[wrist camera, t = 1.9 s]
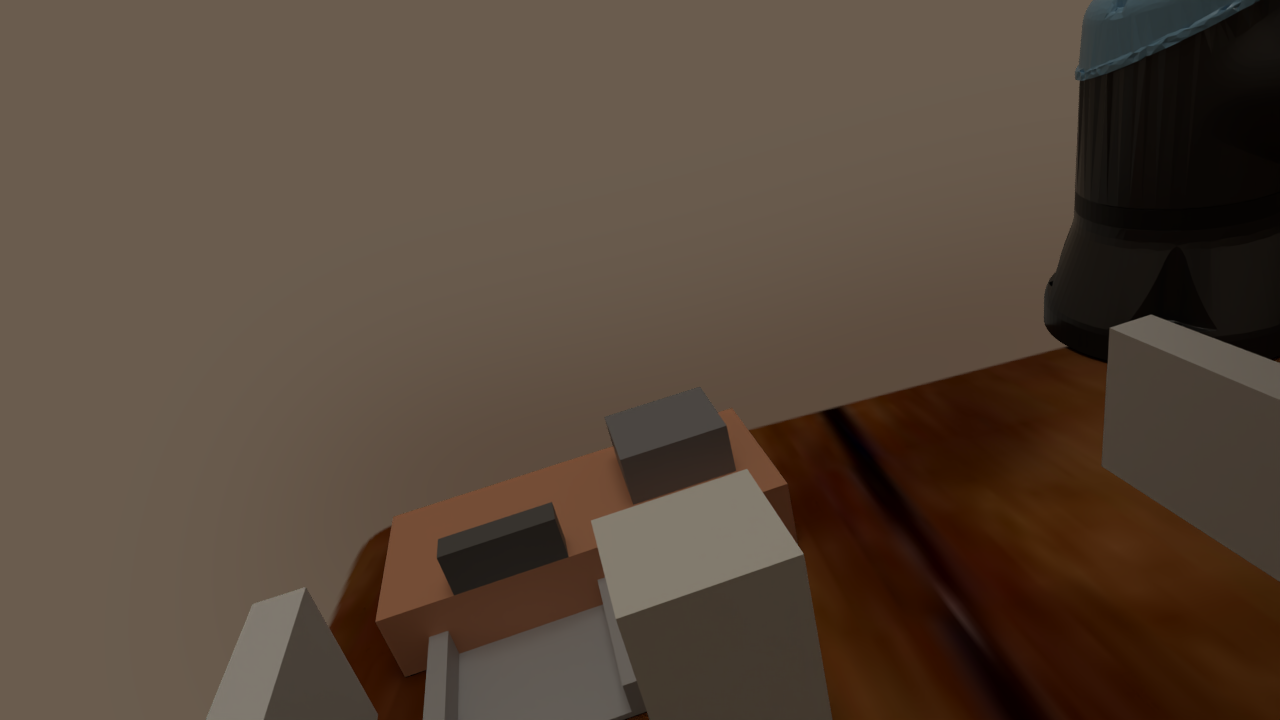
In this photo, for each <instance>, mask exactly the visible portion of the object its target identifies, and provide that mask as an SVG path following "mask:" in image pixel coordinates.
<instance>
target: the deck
mask: <svg viewBox="0 0 1280 720" xmlns="http://www.w3.org/2000/svg"><path fill="white" fill-rule="evenodd" d="M605 420H606V424H607V427H608V430H609V434H610V437H611V441H612V444H613V446H612V447H609V448H606V449H602V450H599V451H596V452H593V453H590V454H587V455H584V456H581V457H578V458H574V459H571V460H568V461H565V462H562V463H559V464H556V465H553V466H550V467H547V468H544V469H540V470H537V471H534V472H531V473H528V474H525V475H522V476H519V477H515V478H512V479H509V480H506V481H503V482H500V483H497V484H494V485H490V486H487V487H485V488H481V489H479V490H475V491H472V492H469V493H466V494H463V495H459V496H456V497H453V498H450V499H447V500H444V501H441V502H438V503H435V504H432V505H428V506H425V507H422V508H419V509H416V510H413V511H410V512H407V513H403V514H400V515H397V516H394V517H393V522H392V528H391V534H390V540H389V545H388V551H387V557H386V563H385V569H384V575H383V581H382V587H381V592H380V598H379V604H378V610H377V616H376V624H377V626H378V627H379V629H380V631H381V633H382V635H383V637H384V639H385V640H386V642H387V644H388V646H389V648H390V650H391V652H392V654H393V655H394V657H395V659H396V661H397V663H398V665H399V667H400V668H401V670H402V672H403V674H404V676H405V677H407V676H410V675H413V674H416V673H418V672H421V671H424V670H427V673H426V686H425V700H424V713H423V720H624V719H627V718H630V717H633V716H635V715H638V714H641V713H644V712H646V711H647V710H646V707H645V704H644V701H643V698H642V695H641V692H640V689H639V687H638V684H637V681H636V678H635V675H634V672H633V669H632V666H631V663H630V660H629V657H628V654H627V651H626V648H625V645H624V642H623V639H622V636H621V633H620V630H619V627H618V624H617V621H616V618H615V614H614V610H613V606H612V602H611V598H610V594H609V590H608V586H607V582H606V579H605V575H604V571H603V567H602V563H601V559H600V555H599V551H598V547H597V543H596V539H595V535H594V531H593V527H592V523H591V520H594V519H597V518H600V517H603V516H606V515H609V514H612V513H615V512H618V511H621V510H624V509H627V508H630V507H633V506H636V505H639V504H642V503H645V502H648V501H651V500H654V499H657V498H660V497H663V496H666V495H670V494H673V493H676V492H679V491H682V490H685V489H688V488H691V487H694V486H697V485H700V484H703V483H706V482H709V481H712V480H715V479H718V478H721V477H724V476H727V475H730V474H733V473H736V472H739V471H742V470H745V469H748V471H749V472H750V474H751V475H752V477H753V478H754V480H755V481H756V483H757V484H758V486H759V487H760V489H761V490H762V492H763V493H764V495H765V497H766V498H767V500H768V501H769V503H770V504H771V506H772V507H773V509H774V510H775V512H776V513H777V515H778V516H779V518H780V519H781V521H782V522H783V524H784V525H785V527H786V528H787V530H788V531H789V533H790V534H791V536H792V537H793V539H794V540H795V542H798V541H797V535H796V530H795V524H794V518H793V512H792V507H791V501H790V495H789V490H788V484H787V482H786V481H785V480H784V478H783V477H782V476H781V474H780V473H779V472H778V470H777V469H776V467H775V466H774V465H773V463H772V462H771V461H770V459H769V458H768V457H767V455H766V454H765V452H764V451H763V450H762V448H761V447H760V446H759V444H758V443H757V442H756V440H755V439H754V437H753V436H752V435H751V433H750V432H749V431H748V429H747V428H746V427H745V425H744V424H743V422H742V421H741V420H740V418H739V417H738V416H737V414H736V413H735V412H734V410H733V409H732V408H730V409H727V410H724V411H721V412H717V411H716V409H715V408H714V406H713V405H712V404H711V402H710V401H709V399H708V398H707V396H706V395H705V393H704V392H703V391H702V389H701V388H700V387H698V388H694V389H691V390H688V391H685V392H682V393H679V394H676V395H672V396H669V397H666V398H663V399H660V400H657V401H653V402H650V403H647V404H644V405H641V406H638V407H635V408H631V409H628V410H625V411H622V412H619V413H616V414H613V415H609V416H606V417H605Z"/></svg>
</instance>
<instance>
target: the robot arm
mask: <svg viewBox="0 0 1280 720" xmlns="http://www.w3.org/2000/svg"><path fill="white" fill-rule="evenodd" d="M1075 79H1076V80H1080V87H1079V110H1078V111H1079V112H1078V133H1077V157H1076V180H1075V181H1076V182H1075V208H1074V219H1073V223H1072V226H1071V228H1070V231H1069V234H1068V236H1067V239H1066V241H1065V244H1064V247H1063V250H1062V253H1061V257H1060V260H1059V264H1058V267H1057V271H1056V273H1054V275H1053V276H1052V277H1051V278H1050V280H1049V282H1048V284H1047V287H1046V290H1045V296H1044V322H1045V326H1046V327H1047V329H1048V331H1049V332H1050V333H1051V334H1052V335H1053V336H1054V337H1055V338H1056V339H1057V340H1059V341H1060V342H1062V343H1063V344H1065V345H1067V346H1069V347H1070V348H1072V349H1075V350H1077V351H1079V352H1082V353H1084V354H1087V355H1090V356H1093V357H1096V358H1100V359H1104V360H1107V361H1108V365H1107V382H1106V400H1105V417H1104V434H1103V452H1102V467H1104V468H1105V469H1107V470H1109V471H1110V472H1112V473H1113V474H1115V475H1116V476H1118V477H1119V478H1121V479H1122V480H1124V481H1126V482H1127V483H1129V484H1130V485H1132V486H1133V487H1135V488H1136V489H1138V490H1139V491H1141V492H1142V493H1144V494H1146V495H1147V496H1149V497H1150V498H1152V499H1153V500H1155V501H1156V502H1158V503H1159V504H1161V505H1162V506H1164V507H1166V508H1167V509H1169V510H1170V511H1172V512H1173V513H1175V514H1176V515H1178V516H1179V517H1181V518H1183V519H1184V520H1186V521H1187V522H1189V523H1190V524H1192V525H1193V526H1195V527H1196V528H1198V529H1199V530H1201V531H1203V532H1204V533H1206V534H1207V535H1209V536H1210V537H1212V538H1213V539H1215V540H1216V541H1218V542H1220V543H1221V544H1223V545H1224V546H1226V547H1227V548H1229V549H1230V550H1232V551H1233V552H1235V553H1236V554H1238V555H1240V556H1241V557H1243V558H1244V559H1246V560H1247V561H1249V562H1250V563H1252V564H1253V565H1255V566H1257V567H1258V568H1260V569H1261V570H1263V571H1264V572H1266V573H1267V574H1269V575H1270V576H1272V577H1273V578H1275V579H1277V580H1278V581H1280V363H1278V362H1275V361H1273V360H1270V359H1271V358H1274V357H1277V356H1280V0H1093V1H1092V2H1091V4H1090V5H1089V7H1088V8H1087V10H1086V13H1085V15H1084V19H1083V25H1082V37H1081V48H1080V59H1079V65H1078V67H1077V68H1076V71H1075ZM377 717H378V714H377V712H376V710H375V709H374V707H373V705H372V703H371V702H370V700H369V698H368V696H367V694H366V693H365V691H364V689H363V687H362V686H361V684H360V682H359V680H358V679H357V677H356V675H355V673H354V671H353V670H352V668H351V666H350V664H349V663H348V661H347V659H346V657H345V656H344V654H343V652H342V650H341V648H340V647H339V645H338V643H337V641H336V640H335V638H334V636H333V634H332V633H331V631H330V629H329V627H328V625H327V624H326V622H325V620H324V618H323V617H322V615H321V613H320V611H319V610H318V608H317V606H316V604H315V602H314V601H313V599H312V597H311V595H310V594H309V592H308V590H307V588H306V587H304V588H301V589H298V590H295V591H292V592H289V593H286V594H282V595H279V596H276V597H273V598H270V599H267V600H264V601H261V602H258V603H255V604H253V605H252V607H251V610H250V612H249V614H248V617H247V619H246V622H245V624H244V627H243V629H242V632H241V634H240V637H239V639H238V642H237V644H236V646H235V649H234V651H233V654H232V656H231V659H230V661H229V664H228V666H227V669H226V671H225V674H224V676H223V679H222V681H221V683H220V686H219V688H218V691H217V694H216V696H215V698H214V701H213V703H212V706H211V708H210V710H209V713H208V715H207V718H206V720H377Z"/></svg>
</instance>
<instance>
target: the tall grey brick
mask: <svg viewBox="0 0 1280 720" xmlns="http://www.w3.org/2000/svg"><path fill="white" fill-rule="evenodd" d="M591 523H592V527H593V531H594V535H595V539H596V543H597V547H598V551H599V555H600V559H601V563H602V567H603V571H604V575H605V579H606V582H607V586H608V590H609V594H610V598H611V602H612V606H613V610H614V614H615V618H616V621H617V624H618V627H619V630H620V633H621V636H622V639H623V642H624V645H625V648H626V651H627V654H628V657H629V660H630V663H631V666H632V669H633V672H634V675H635V678H636V681H637V684H638V687H639V689H640V692H641V695H642V698H643V701H644V704H645V707H646V710H647V713H648V716H649V719H650V720H832V715H831V709H830V704H829V698H828V692H827V686H826V680H825V675H824V669H823V663H822V657H821V651H820V646H819V640H818V634H817V628H816V622H815V617H814V611H813V605H812V599H811V593H810V588H809V582H808V576H807V570H806V564H805V559H804V554H803V552H802V551H801V549H800V548H799V546H798V545H797V543H796V542H795V540H794V539H793V537H792V536H791V534H790V533H789V531H788V530H787V528H786V527H785V525H784V524H783V522H782V521H781V519H780V518H779V516H778V515H777V513H776V512H775V510H774V509H773V507H772V506H771V504H770V503H769V501H768V500H767V498H766V497H765V495H764V493H763V492H762V490H761V489H760V487H759V486H758V484H757V483H756V481H755V480H754V478H753V477H752V475H751V474H750V472H749V471H748V469H745V470H742V471H739V472H736V473H733V474H730V475H727V476H724V477H721V478H718V479H715V480H712V481H709V482H706V483H703V484H700V485H697V486H694V487H691V488H688V489H685V490H682V491H679V492H676V493H673V494H670V495H666V496H663V497H660V498H657V499H654V500H651V501H648V502H645V503H642V504H639V505H636V506H633V507H630V508H627V509H624V510H621V511H618V512H615V513H612V514H609V515H606V516H603V517H600V518H597V519H594V520H591Z"/></svg>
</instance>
